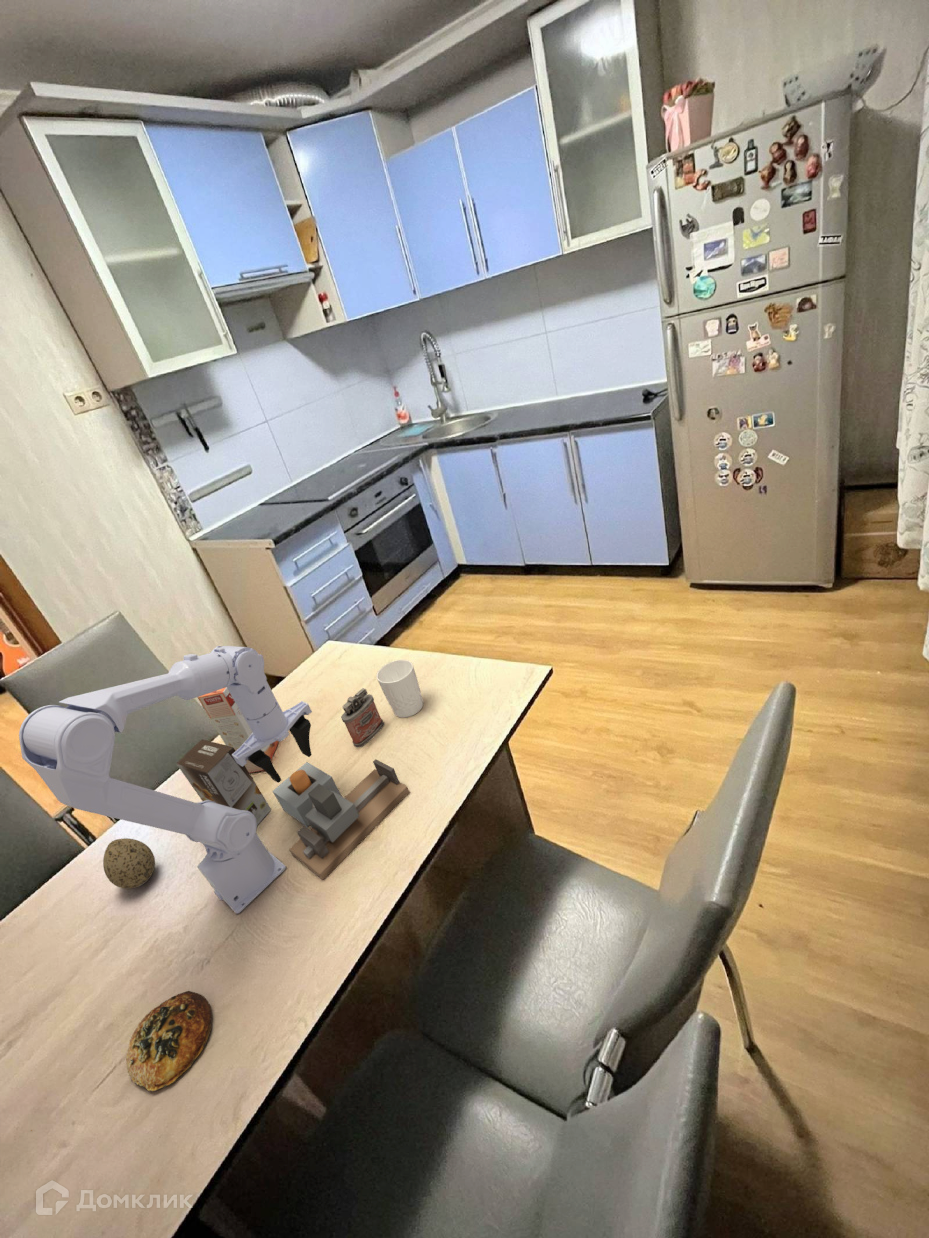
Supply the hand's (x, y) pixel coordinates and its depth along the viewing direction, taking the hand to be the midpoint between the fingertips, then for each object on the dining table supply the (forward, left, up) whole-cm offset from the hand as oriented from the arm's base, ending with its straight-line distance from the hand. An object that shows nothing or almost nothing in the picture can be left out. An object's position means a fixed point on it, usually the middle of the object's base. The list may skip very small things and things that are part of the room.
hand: (292, 766), depth 101 cm
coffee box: (-9, +10, -10) cm, 17 cm away
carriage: (-2, -11, -6) cm, 13 cm away
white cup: (+28, +2, -10) cm, 30 cm away
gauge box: (0, 0, -9) cm, 9 cm away
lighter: (+18, +4, -10) cm, 21 cm away
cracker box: (+4, +23, -10) cm, 25 cm away
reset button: (0, 0, -7) cm, 7 cm away
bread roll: (-35, -16, -10) cm, 40 cm away
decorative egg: (-27, +15, -10) cm, 32 cm away
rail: (+1, -11, -9) cm, 15 cm away
